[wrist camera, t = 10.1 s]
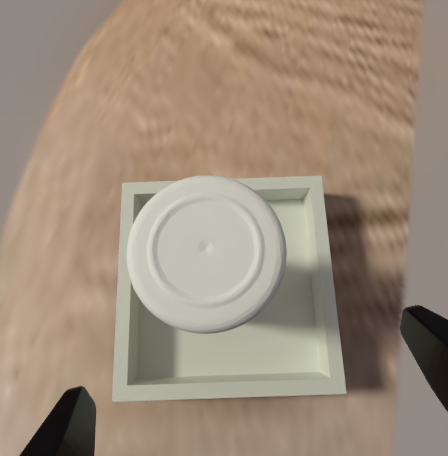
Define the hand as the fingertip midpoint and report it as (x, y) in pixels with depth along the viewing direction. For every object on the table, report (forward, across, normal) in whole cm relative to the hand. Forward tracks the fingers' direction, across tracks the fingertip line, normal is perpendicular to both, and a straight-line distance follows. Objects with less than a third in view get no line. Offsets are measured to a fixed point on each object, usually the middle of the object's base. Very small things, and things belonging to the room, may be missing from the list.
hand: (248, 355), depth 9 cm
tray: (+12, 0, +7) cm, 14 cm away
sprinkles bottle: (+11, +1, +7) cm, 13 cm away
